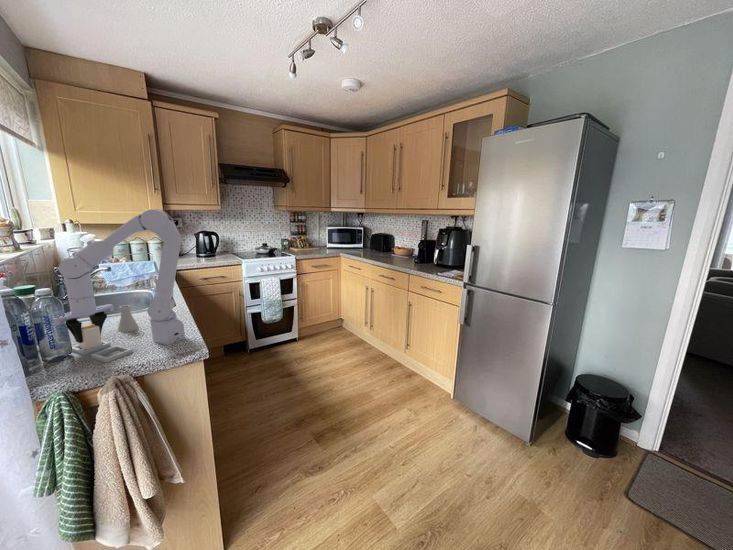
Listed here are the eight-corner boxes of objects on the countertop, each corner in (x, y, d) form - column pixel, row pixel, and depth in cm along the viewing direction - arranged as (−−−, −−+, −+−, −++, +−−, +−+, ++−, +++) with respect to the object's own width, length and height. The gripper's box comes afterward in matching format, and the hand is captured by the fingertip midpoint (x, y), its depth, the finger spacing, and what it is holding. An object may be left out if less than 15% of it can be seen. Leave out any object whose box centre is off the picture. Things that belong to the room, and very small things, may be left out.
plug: (102, 344, 95) (98, 324, 94) (86, 349, 92) (83, 328, 90) (94, 341, 97) (91, 322, 95) (78, 346, 93) (75, 326, 92)
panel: (138, 354, 94) (137, 347, 94) (100, 369, 85) (99, 361, 85) (103, 344, 101) (102, 337, 100) (64, 357, 92) (63, 349, 91)
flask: (137, 327, 115) (134, 302, 113) (143, 332, 111) (140, 306, 109) (113, 333, 110) (109, 306, 108) (118, 338, 105) (114, 311, 103)
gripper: (101, 289, 99) (108, 329, 102) (41, 301, 86) (50, 346, 89) (115, 292, 97) (121, 332, 99) (55, 304, 84) (64, 350, 86)
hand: (88, 339), depth 94 cm, fingers closed on plug, 4 cm apart
